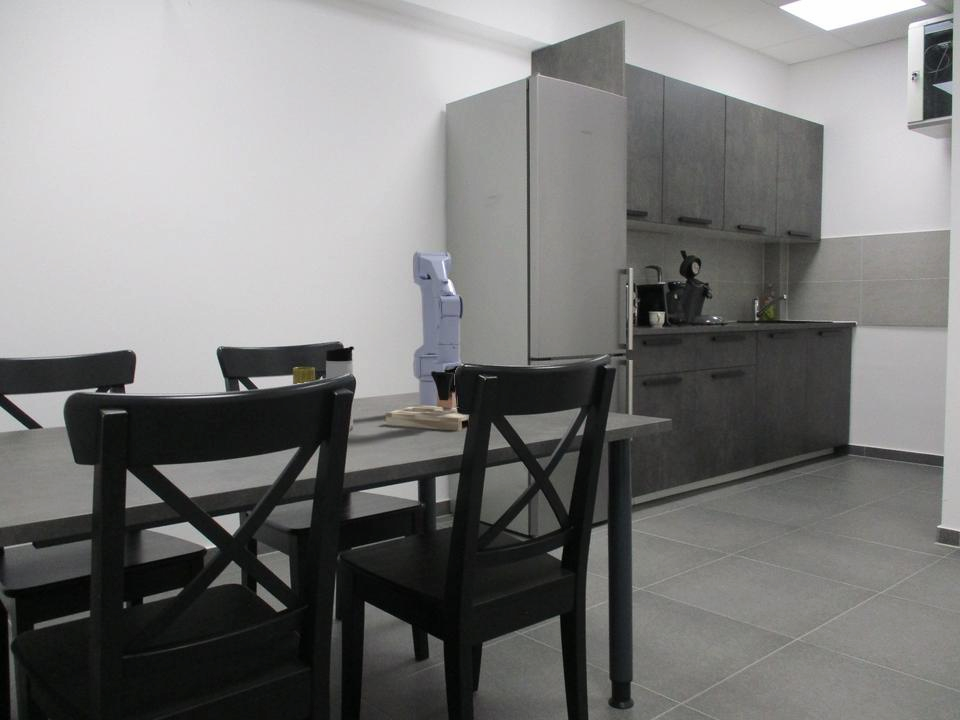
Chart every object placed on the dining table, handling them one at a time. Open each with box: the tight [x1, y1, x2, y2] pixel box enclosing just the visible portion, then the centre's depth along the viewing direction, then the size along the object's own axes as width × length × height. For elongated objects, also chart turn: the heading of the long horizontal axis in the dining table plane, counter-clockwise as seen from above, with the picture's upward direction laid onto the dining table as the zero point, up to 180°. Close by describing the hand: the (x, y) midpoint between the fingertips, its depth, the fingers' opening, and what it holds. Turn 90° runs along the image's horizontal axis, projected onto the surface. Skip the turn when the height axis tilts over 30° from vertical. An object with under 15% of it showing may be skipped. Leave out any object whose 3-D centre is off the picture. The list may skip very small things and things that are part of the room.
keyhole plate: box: [385, 404, 469, 432], centre depth 203 cm, size 16×20×3 cm
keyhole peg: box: [437, 392, 457, 414], centre depth 201 cm, size 5×5×8 cm
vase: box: [292, 366, 316, 385], centre depth 198 cm, size 6×6×14 cm
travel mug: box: [325, 346, 355, 432], centre depth 191 cm, size 6×7×20 cm
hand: (448, 398), depth 201 cm, fingers open, 7 cm apart
